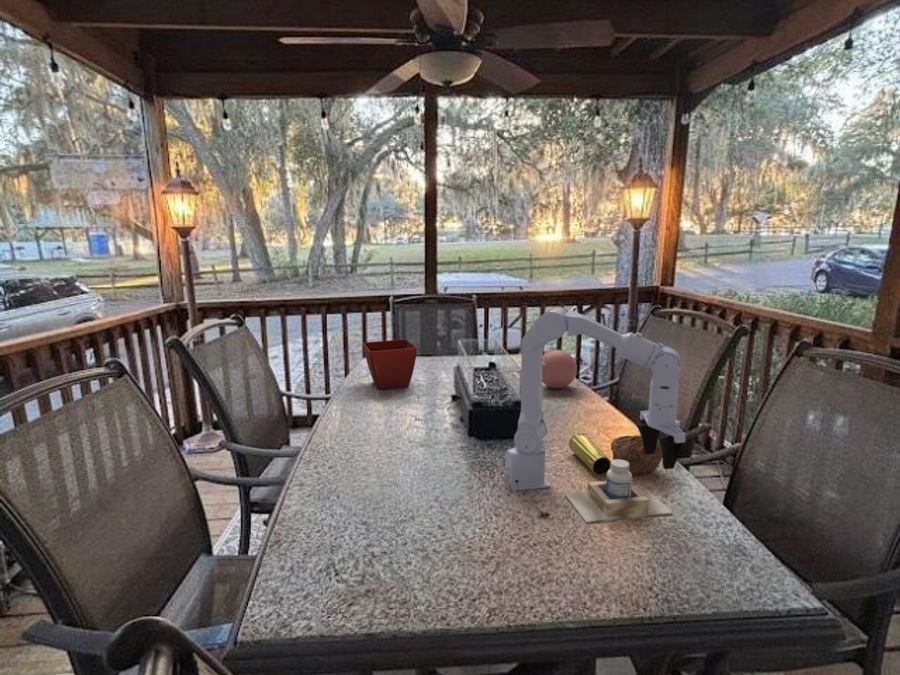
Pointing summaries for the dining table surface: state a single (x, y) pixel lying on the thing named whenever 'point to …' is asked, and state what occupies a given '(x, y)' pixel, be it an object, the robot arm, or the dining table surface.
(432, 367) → the dining table surface
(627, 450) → the decorative rock
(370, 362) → the plant pot
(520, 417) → the robot arm
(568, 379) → the balloon
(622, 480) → the pill bottle
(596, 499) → the socket block
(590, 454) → the vase
